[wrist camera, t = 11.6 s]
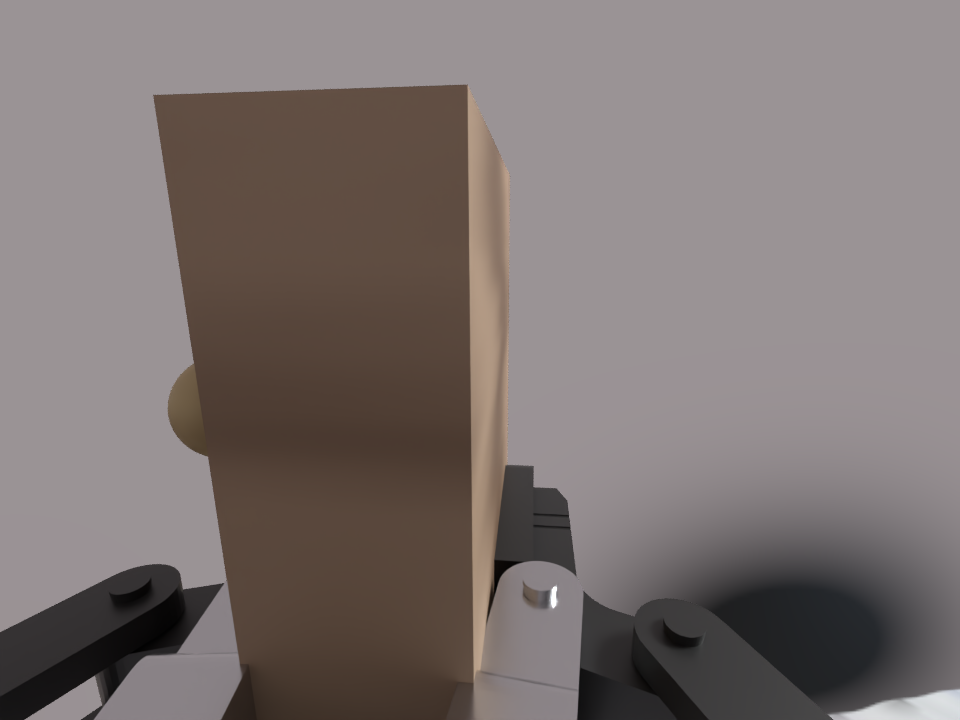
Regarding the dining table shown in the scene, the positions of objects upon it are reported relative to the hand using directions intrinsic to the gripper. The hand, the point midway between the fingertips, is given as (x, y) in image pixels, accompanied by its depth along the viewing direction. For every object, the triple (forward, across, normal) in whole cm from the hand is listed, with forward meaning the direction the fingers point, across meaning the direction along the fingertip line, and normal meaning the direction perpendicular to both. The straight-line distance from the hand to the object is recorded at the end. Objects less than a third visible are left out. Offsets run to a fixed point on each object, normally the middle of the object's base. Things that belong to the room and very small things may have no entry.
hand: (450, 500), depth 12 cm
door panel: (-3, 0, +9) cm, 9 cm away
